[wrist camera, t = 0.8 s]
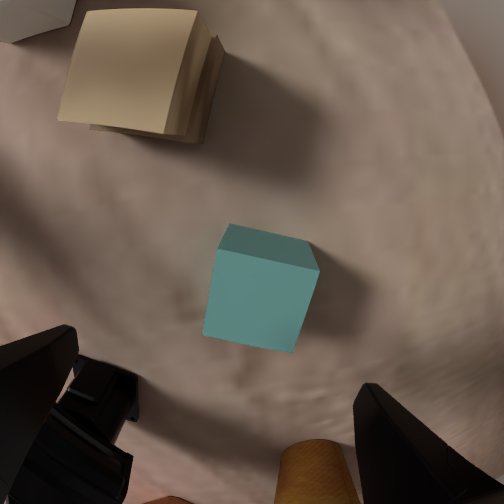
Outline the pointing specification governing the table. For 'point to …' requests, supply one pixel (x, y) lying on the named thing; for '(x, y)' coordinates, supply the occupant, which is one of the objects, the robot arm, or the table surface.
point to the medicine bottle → (32, 17)
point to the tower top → (136, 69)
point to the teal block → (260, 289)
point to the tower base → (200, 103)
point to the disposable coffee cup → (314, 475)
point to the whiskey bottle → (168, 501)
